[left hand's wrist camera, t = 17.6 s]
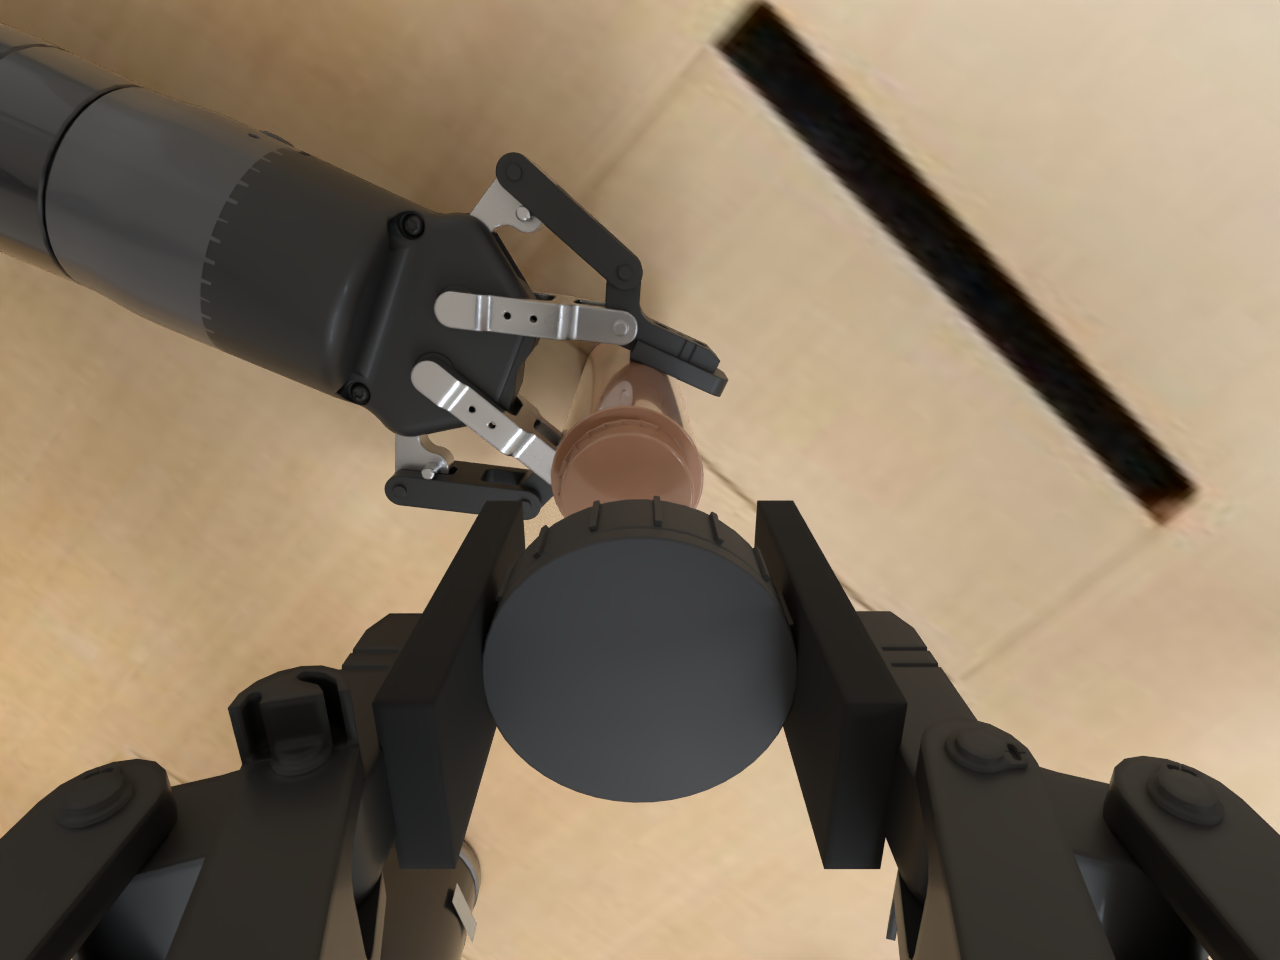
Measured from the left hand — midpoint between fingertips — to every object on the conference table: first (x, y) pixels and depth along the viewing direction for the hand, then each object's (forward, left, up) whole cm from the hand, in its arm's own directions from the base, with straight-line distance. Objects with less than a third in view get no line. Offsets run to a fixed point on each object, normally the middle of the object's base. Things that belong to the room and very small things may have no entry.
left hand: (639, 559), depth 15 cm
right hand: (-2, +1, -12) cm, 12 cm away
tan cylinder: (0, 0, -19) cm, 19 cm away
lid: (0, 0, +4) cm, 4 cm away
